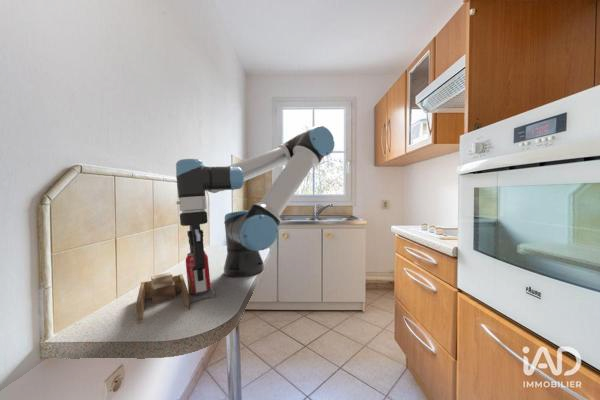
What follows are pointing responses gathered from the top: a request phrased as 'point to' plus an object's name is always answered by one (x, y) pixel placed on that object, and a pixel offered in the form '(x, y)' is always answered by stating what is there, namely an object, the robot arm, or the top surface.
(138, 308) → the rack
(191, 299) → the mat
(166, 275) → the birch offcut
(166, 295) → the walnut offcut
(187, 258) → the beverage can
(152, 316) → the top surface
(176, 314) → the top surface
